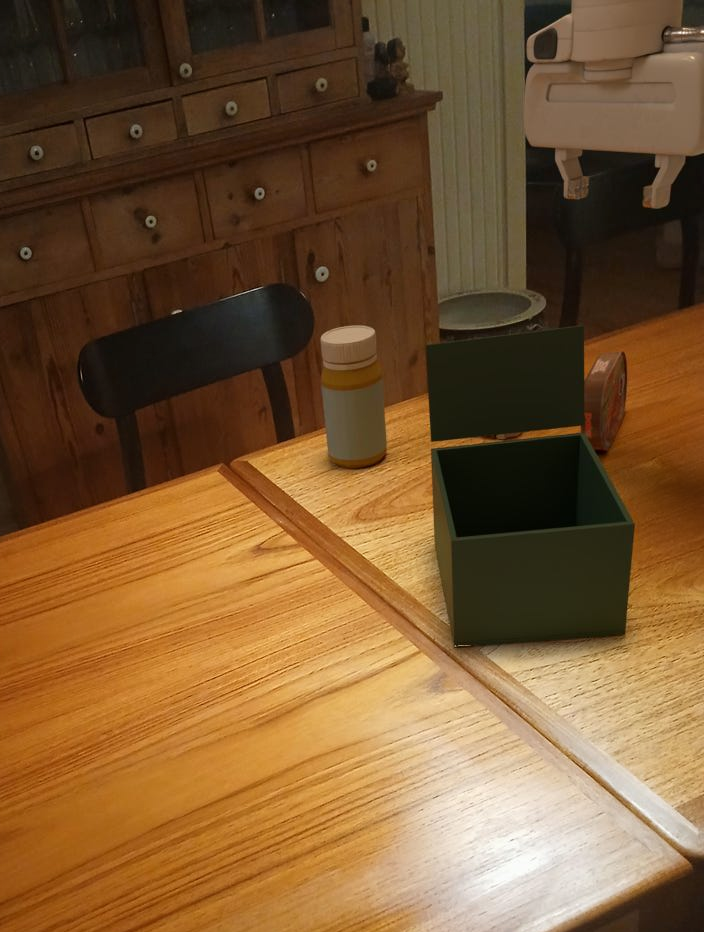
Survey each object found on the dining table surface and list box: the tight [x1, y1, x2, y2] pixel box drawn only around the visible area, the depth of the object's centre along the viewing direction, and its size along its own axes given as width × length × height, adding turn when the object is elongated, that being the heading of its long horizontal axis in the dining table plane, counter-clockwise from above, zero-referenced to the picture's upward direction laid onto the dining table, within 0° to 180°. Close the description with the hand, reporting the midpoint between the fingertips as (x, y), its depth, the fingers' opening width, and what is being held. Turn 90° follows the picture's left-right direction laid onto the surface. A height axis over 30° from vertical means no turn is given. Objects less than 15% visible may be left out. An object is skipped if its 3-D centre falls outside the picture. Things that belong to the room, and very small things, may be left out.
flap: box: [424, 324, 585, 443], centre depth 90 cm, size 14×9×1 cm
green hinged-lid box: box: [430, 432, 636, 647], centre depth 88 cm, size 14×18×10 cm
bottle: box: [320, 325, 388, 469], centre depth 115 cm, size 7×7×15 cm
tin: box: [580, 350, 628, 452], centre depth 111 cm, size 15×3×8 cm, turn 152°
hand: (614, 202), depth 92 cm, fingers open, 8 cm apart
